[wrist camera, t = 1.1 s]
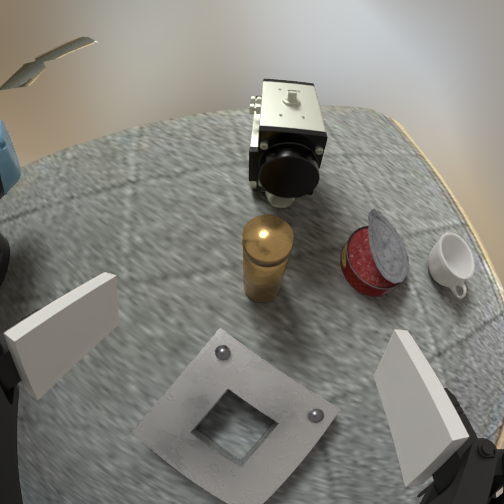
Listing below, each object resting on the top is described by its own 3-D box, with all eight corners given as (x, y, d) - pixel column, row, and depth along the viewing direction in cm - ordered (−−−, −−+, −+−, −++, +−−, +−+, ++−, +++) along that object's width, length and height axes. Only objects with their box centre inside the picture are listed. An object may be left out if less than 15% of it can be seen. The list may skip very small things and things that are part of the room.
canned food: (353, 249, 44) (384, 201, 38) (395, 291, 39) (433, 244, 33) (315, 265, 36) (352, 204, 30) (367, 318, 31) (417, 261, 25)
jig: (142, 428, 26) (129, 431, 22) (222, 334, 32) (219, 326, 28) (250, 504, 21) (250, 517, 18) (331, 407, 27) (342, 409, 24)
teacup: (415, 251, 38) (432, 233, 33) (446, 248, 39) (463, 231, 34) (434, 309, 33) (455, 296, 29) (464, 301, 34) (484, 288, 29)
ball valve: (252, 150, 48) (255, 62, 32) (299, 154, 48) (313, 68, 32) (244, 232, 39) (243, 128, 24) (304, 236, 39) (334, 136, 23)
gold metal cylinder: (236, 289, 35) (231, 239, 24) (257, 263, 37) (262, 206, 26) (266, 310, 34) (275, 267, 23) (286, 282, 35) (303, 231, 25)
